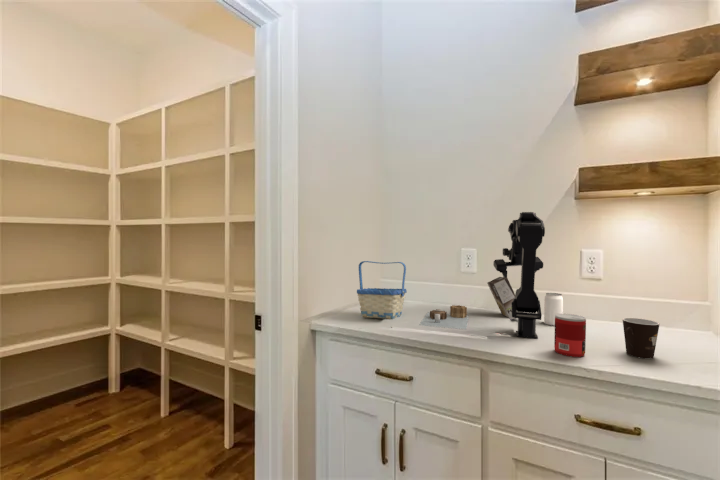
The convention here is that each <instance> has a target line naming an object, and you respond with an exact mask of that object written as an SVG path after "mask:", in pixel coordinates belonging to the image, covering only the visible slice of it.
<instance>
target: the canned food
mask: <svg viewBox="0 0 720 480" xmlns="http://www.w3.org/2000/svg"><path fill="white" fill-rule="evenodd" d="M586 333H587V318H586V317H585V316H583V315H578V314H572V313H563V314H556V315H555V326H554V342H553V343H554V346H553V348H554V351H555V353H557V354H559V355H561V354H562V355H561V356H565V355H566V357H570V356H572V358H581V356H582V357H584V356H585V354H586V336H587V334H586Z"/></svg>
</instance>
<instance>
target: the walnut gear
mask: <svg viewBox="0 0 720 480" xmlns="http://www.w3.org/2000/svg"><path fill="white" fill-rule="evenodd" d="M429 312H430V318H431V319H435V314H440V319H442V320H444V319H447V314H448V313H447V311H446V310H441V309H440V308H437V309H433V310H430V311H429Z"/></svg>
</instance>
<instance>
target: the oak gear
mask: <svg viewBox="0 0 720 480" xmlns="http://www.w3.org/2000/svg"><path fill="white" fill-rule="evenodd" d="M449 308H450V310H449V314H450V316H451V317H456V318H465V317H467V315H468V313H467V312H468V309H467V308H468V307H467V306H466V305H460V304H459V305H455V304H454V305H453V304H452V305H450V307H449Z"/></svg>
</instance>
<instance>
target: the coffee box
mask: <svg viewBox="0 0 720 480" xmlns="http://www.w3.org/2000/svg"><path fill="white" fill-rule="evenodd" d="M486 283H487V286H488V287H489V290H490V291H491V294H492V296H493V299H494V301H495V303H496V305H497V307H498V309H499V311H500V313H501V315H503V316H505V317H507V318H508V319H509V320H510V321H512V320H513V319H515V318H514V317H512V305H511V303H512V302H513V299H515V293H516V292H515V291H514V289H513V287H512V285H511V283H510V280H509V278H508V277H507V278H505V277H503V276H499V277H497V278H494V279H492V280H490V281H488V282H486ZM516 311H517V310H516Z"/></svg>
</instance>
